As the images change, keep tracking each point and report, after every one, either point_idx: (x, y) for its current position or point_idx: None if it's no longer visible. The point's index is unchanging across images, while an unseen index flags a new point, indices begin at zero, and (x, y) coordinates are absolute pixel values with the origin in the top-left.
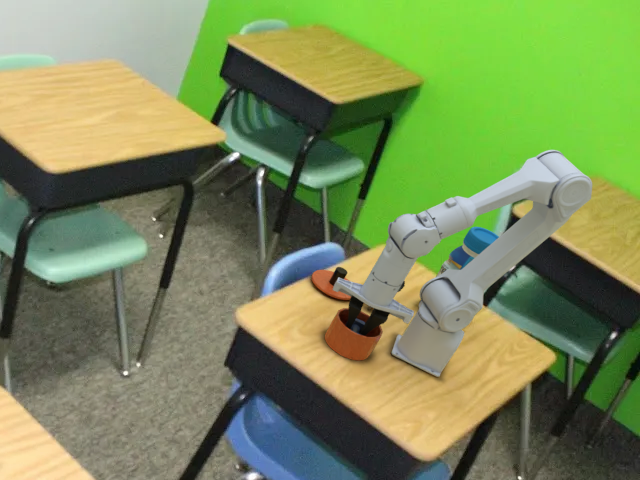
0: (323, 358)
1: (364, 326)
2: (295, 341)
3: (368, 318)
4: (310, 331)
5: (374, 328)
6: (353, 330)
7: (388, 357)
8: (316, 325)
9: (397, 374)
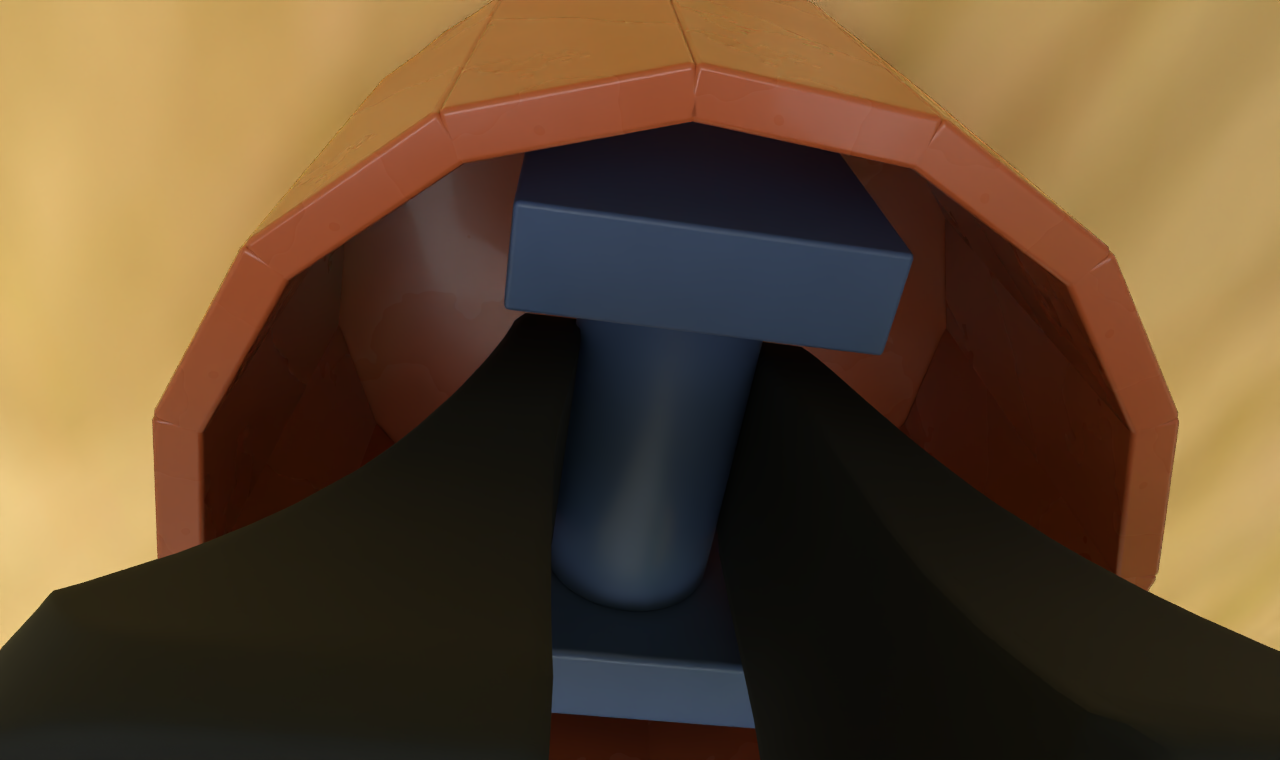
0: None
1: (783, 549)
2: (33, 607)
3: (854, 525)
4: (117, 313)
5: (1049, 317)
6: (618, 503)
7: (1257, 225)
8: (147, 96)
9: (1253, 498)
